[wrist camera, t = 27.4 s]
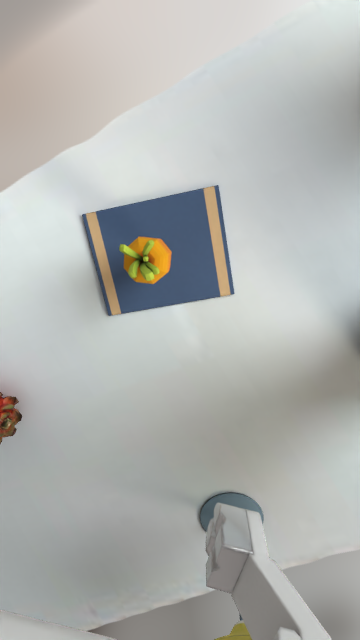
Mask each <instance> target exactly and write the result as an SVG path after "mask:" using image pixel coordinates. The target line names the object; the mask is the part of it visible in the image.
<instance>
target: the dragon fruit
mask: <svg viewBox="0 0 360 640" xmlns="http://www.w3.org/2000/svg"><path fill="white" fill-rule="evenodd" d="M2 395H3V394H2V393H1V392H0V444H1V442H2V437H8V436H13V435H14V434H15V432H16V430H17V429H16V428H15V425H16V424H17V423H18V422H19V421H21V418H22V415H21V414H20V412H19V411H18V410H17V409H15V408H14V405H15V404H17V403H18V402H19V401H18V400H17V398H16V397H11V396H10V397H5V398H2V397H1V396H2Z"/></svg>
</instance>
